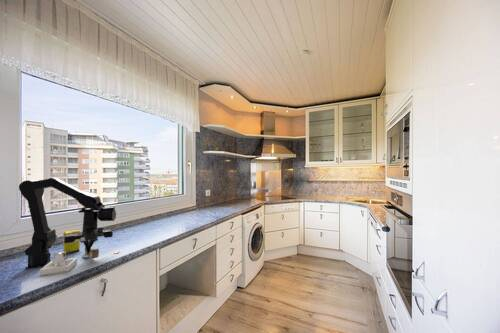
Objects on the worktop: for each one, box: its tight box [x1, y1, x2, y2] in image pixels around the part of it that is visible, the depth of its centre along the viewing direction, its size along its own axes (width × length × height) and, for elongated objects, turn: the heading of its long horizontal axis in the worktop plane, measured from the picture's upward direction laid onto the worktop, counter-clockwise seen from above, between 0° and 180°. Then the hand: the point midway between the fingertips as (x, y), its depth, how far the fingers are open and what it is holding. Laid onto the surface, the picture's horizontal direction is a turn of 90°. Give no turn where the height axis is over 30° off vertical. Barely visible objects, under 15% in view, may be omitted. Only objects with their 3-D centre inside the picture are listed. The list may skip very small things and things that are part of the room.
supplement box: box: [62, 229, 81, 255], centre depth 116 cm, size 6×6×11 cm
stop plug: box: [53, 250, 67, 267], centre depth 94 cm, size 4×4×6 cm
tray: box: [39, 257, 78, 277], centre depth 94 cm, size 10×10×2 cm
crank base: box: [81, 250, 120, 259], centre depth 111 cm, size 16×5×1 cm, turn 112°
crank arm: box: [84, 246, 100, 259], centre depth 106 cm, size 13×3×4 cm, turn 52°
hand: (87, 253), depth 103 cm, fingers closed
